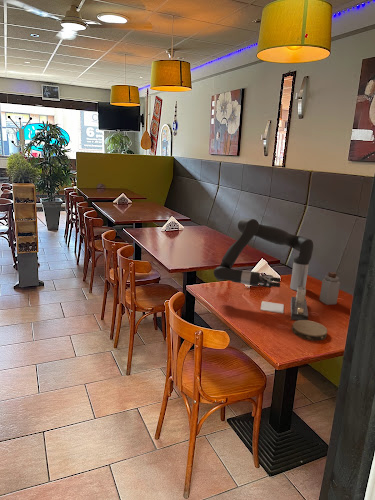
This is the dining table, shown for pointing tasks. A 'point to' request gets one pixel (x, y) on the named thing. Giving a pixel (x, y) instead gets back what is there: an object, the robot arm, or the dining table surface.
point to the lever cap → (300, 297)
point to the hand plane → (298, 310)
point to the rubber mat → (272, 307)
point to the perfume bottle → (330, 289)
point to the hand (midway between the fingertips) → (280, 282)
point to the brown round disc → (309, 330)
